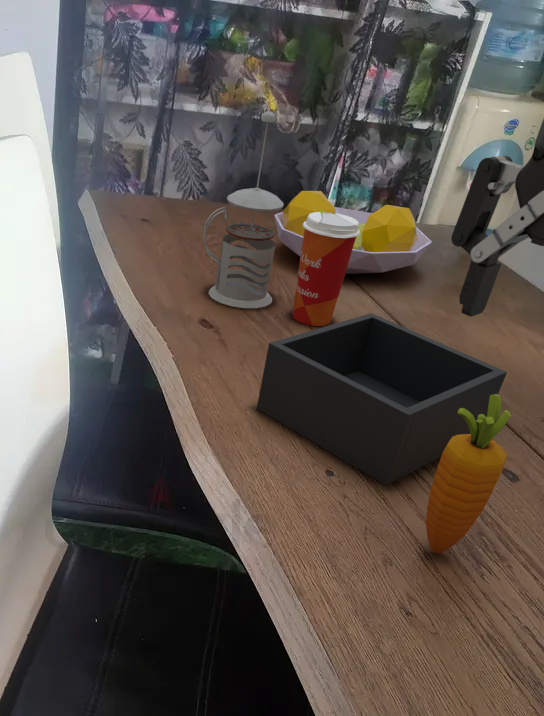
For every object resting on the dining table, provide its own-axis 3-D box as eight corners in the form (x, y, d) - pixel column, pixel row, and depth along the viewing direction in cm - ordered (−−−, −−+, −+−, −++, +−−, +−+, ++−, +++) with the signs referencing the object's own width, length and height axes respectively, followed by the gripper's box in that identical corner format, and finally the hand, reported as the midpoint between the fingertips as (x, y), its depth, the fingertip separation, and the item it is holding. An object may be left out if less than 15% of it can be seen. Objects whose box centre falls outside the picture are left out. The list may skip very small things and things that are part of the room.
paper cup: (280, 306, 110) (299, 208, 101) (330, 309, 110) (353, 212, 102) (291, 327, 103) (312, 225, 95) (344, 330, 104) (369, 229, 96)
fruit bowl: (334, 231, 145) (348, 170, 138) (450, 276, 129) (472, 209, 122) (229, 248, 130) (239, 180, 123) (346, 301, 114) (364, 226, 107)
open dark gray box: (354, 373, 93) (371, 312, 88) (481, 436, 83) (507, 371, 78) (256, 408, 83) (268, 342, 78) (385, 485, 73) (409, 415, 68)
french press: (276, 310, 108) (312, 121, 93) (198, 304, 107) (221, 112, 92) (268, 287, 116) (300, 108, 101) (195, 281, 115) (216, 100, 100)
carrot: (441, 578, 62) (507, 424, 53) (395, 546, 65) (449, 394, 56) (475, 559, 64) (544, 408, 56) (429, 528, 68) (487, 381, 59)
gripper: (788, 93, 41) (646, 361, 51) (547, 56, 49) (464, 292, 59) (744, 95, 37) (598, 386, 46) (488, 54, 45) (410, 308, 55)
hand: (524, 334), depth 53 cm, fingers open, 8 cm apart
